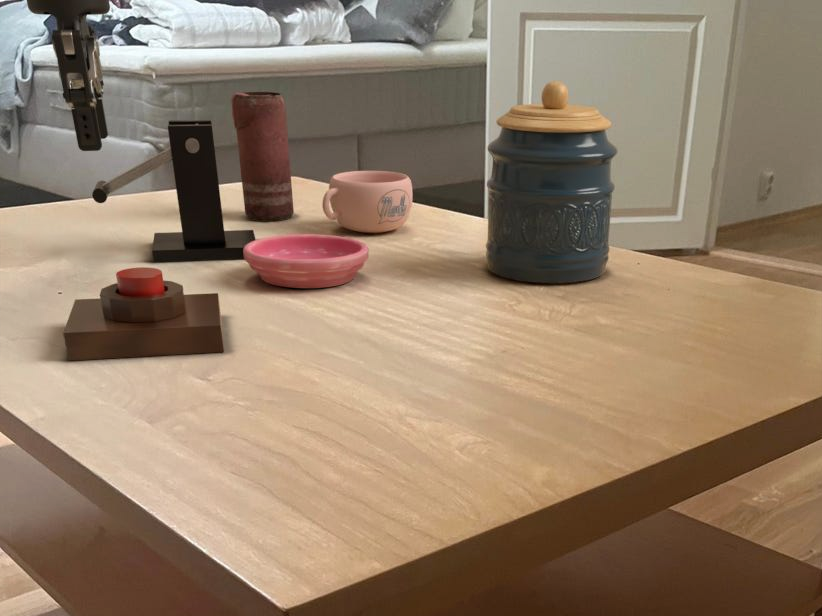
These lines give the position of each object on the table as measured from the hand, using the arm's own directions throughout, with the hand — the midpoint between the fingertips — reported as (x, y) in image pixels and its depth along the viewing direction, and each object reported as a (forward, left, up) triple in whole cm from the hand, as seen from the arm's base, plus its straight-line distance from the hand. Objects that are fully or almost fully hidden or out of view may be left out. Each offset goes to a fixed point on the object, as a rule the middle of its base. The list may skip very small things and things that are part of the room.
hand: (94, 144), depth 104 cm
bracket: (+10, 0, -11) cm, 15 cm away
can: (+18, +18, -11) cm, 28 cm away
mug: (+29, +8, -11) cm, 32 cm away
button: (+5, -32, -7) cm, 33 cm away
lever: (+6, 0, -3) cm, 6 cm away
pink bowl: (+20, -14, -11) cm, 27 cm away
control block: (+5, -32, -11) cm, 34 cm away
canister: (+45, -15, -11) cm, 49 cm away
